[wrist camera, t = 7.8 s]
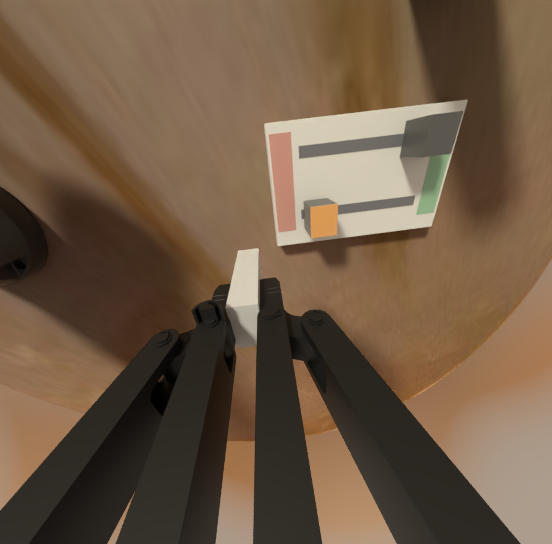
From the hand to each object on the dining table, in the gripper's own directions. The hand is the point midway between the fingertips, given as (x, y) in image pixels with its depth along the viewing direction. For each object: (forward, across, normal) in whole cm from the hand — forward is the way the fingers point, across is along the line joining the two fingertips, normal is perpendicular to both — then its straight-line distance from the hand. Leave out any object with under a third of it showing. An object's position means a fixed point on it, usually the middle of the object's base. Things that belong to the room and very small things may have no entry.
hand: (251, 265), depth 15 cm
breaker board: (+15, +14, +3) cm, 20 cm away
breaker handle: (+12, +8, 0) cm, 14 cm away
